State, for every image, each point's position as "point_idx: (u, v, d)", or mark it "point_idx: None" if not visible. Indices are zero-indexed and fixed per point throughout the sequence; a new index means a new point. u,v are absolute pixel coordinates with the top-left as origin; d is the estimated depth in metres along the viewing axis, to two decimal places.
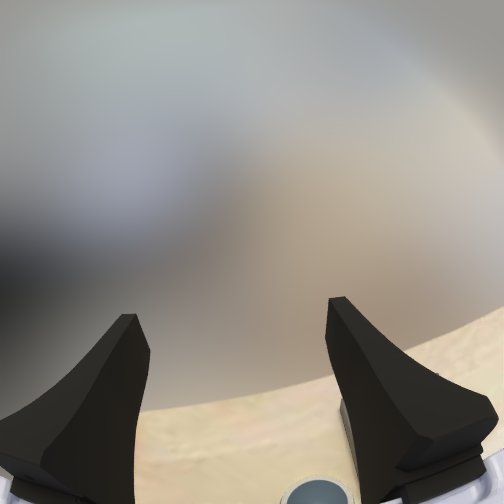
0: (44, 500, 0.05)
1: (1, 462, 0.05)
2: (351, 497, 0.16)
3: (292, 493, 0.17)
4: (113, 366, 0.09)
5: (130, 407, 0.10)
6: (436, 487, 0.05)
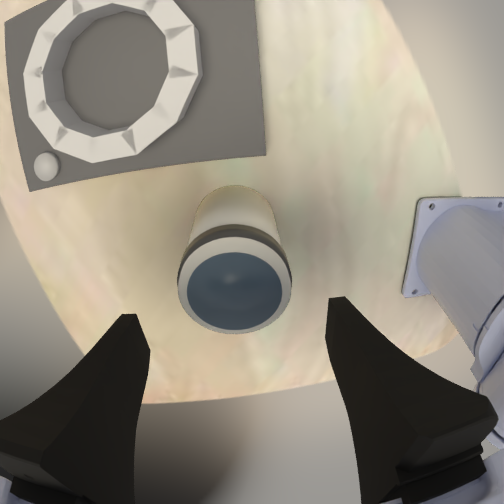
0: (44, 500, 0.05)
1: (1, 462, 0.05)
2: (226, 245, 0.13)
3: (210, 322, 0.14)
4: (112, 366, 0.09)
5: (130, 407, 0.10)
6: (436, 487, 0.05)
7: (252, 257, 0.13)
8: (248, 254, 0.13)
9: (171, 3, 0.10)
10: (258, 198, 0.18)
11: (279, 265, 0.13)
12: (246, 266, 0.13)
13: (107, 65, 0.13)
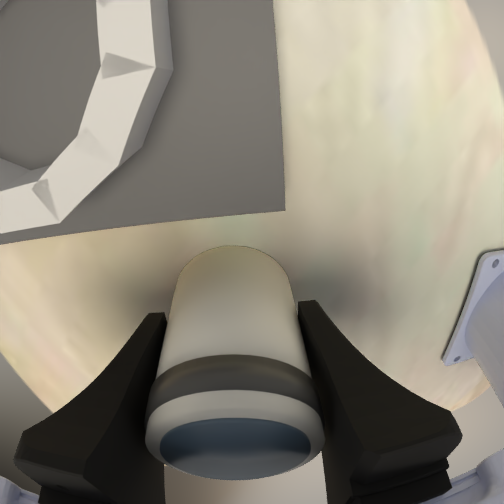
0: (44, 500, 0.05)
1: (31, 473, 0.05)
2: (219, 411, 0.06)
3: (200, 474, 0.08)
4: (145, 366, 0.09)
5: None
6: (394, 502, 0.05)
7: (265, 425, 0.06)
8: (257, 418, 0.07)
9: None
10: (269, 270, 0.12)
11: (310, 425, 0.07)
12: (255, 434, 0.07)
13: (23, 65, 0.07)
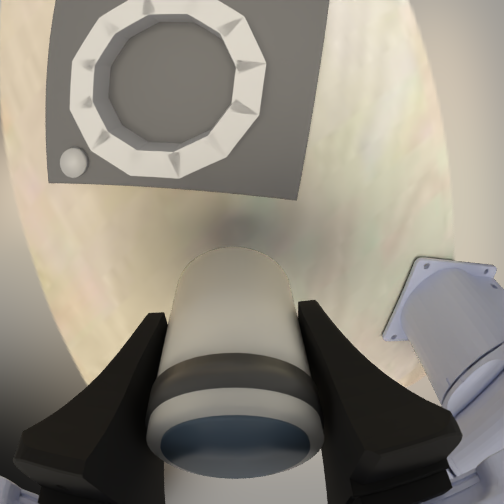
0: (44, 500, 0.05)
1: (31, 473, 0.05)
2: (219, 408, 0.06)
3: (201, 472, 0.08)
4: (144, 366, 0.09)
5: None
6: (394, 502, 0.05)
7: (265, 423, 0.07)
8: (257, 416, 0.07)
9: (249, 34, 0.11)
10: (269, 270, 0.12)
11: (309, 423, 0.07)
12: (254, 431, 0.07)
13: (161, 74, 0.13)
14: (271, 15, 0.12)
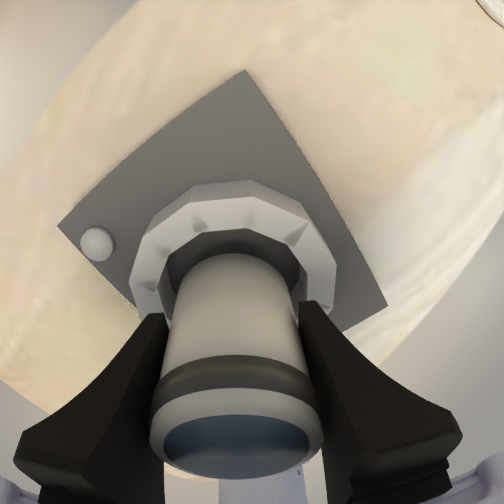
0: (44, 500, 0.05)
1: (31, 473, 0.05)
2: (227, 407, 0.07)
3: (199, 472, 0.08)
4: (144, 366, 0.09)
5: None
6: (394, 502, 0.05)
7: (270, 422, 0.07)
8: (262, 415, 0.07)
9: None
10: (271, 278, 0.12)
11: (311, 424, 0.07)
12: (259, 431, 0.07)
13: None
14: (344, 291, 0.16)
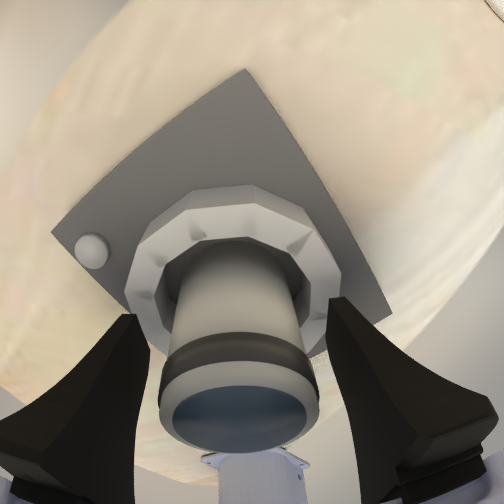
0: (44, 500, 0.05)
1: (1, 462, 0.05)
2: (232, 378, 0.08)
3: (205, 446, 0.09)
4: (113, 366, 0.09)
5: (130, 407, 0.10)
6: (436, 487, 0.05)
7: (270, 393, 0.08)
8: (264, 386, 0.08)
9: (323, 330, 0.14)
10: (270, 263, 0.13)
11: (307, 395, 0.08)
12: (260, 402, 0.08)
13: None
14: (348, 299, 0.16)
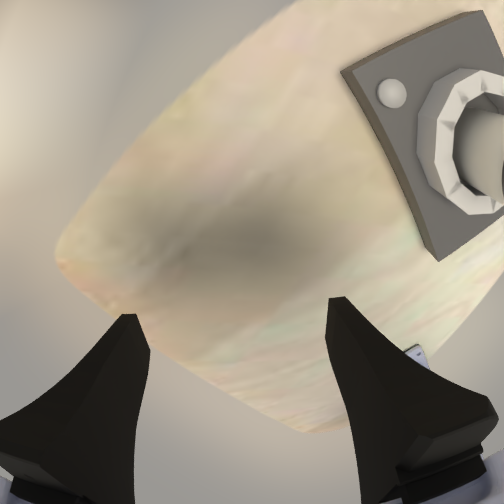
0: (44, 500, 0.05)
1: (1, 462, 0.05)
2: None
3: None
4: (112, 366, 0.09)
5: (130, 407, 0.10)
6: (436, 487, 0.05)
7: None
8: None
9: None
10: None
11: None
12: None
13: None
14: None
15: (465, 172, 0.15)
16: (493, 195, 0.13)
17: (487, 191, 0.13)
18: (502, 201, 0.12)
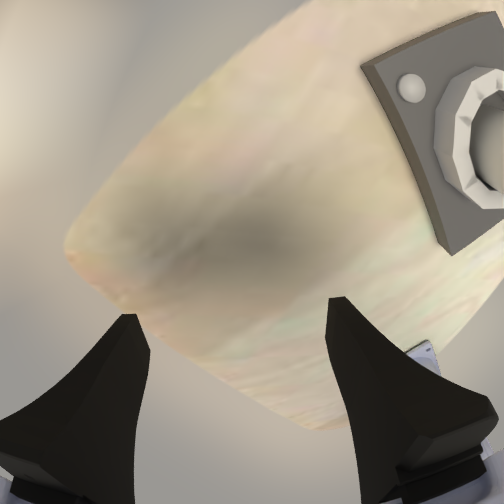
0: (44, 500, 0.05)
1: (1, 462, 0.05)
2: None
3: None
4: (113, 366, 0.09)
5: (130, 407, 0.10)
6: (436, 487, 0.05)
7: None
8: None
9: None
10: None
11: None
12: None
13: None
14: None
15: (480, 171, 0.14)
16: None
17: (502, 190, 0.13)
18: None
